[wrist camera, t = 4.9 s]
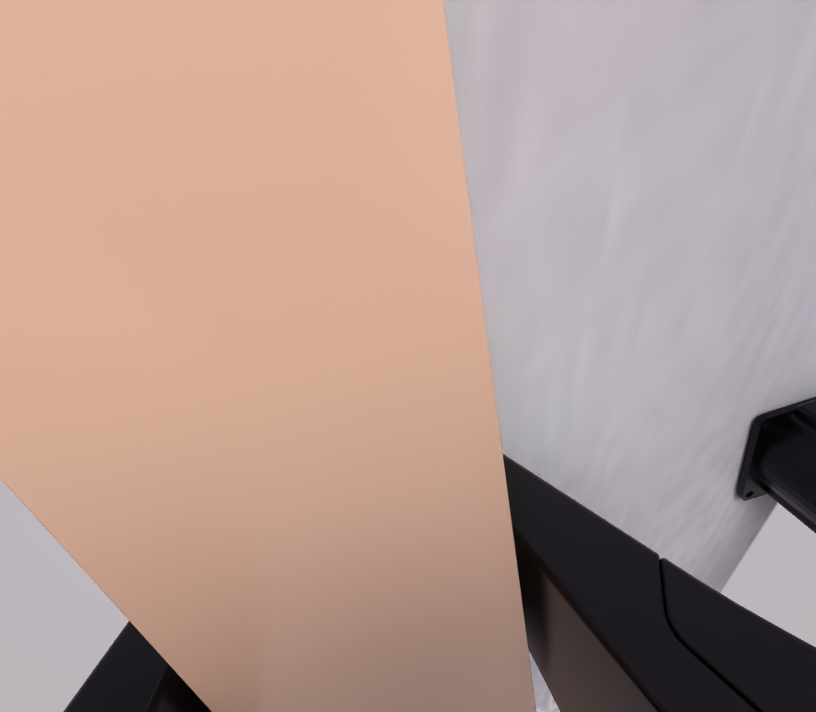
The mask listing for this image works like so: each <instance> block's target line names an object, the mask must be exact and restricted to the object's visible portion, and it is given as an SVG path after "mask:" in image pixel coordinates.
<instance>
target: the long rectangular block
mask: <svg viewBox="0 0 816 712" xmlns="http://www.w3.org/2000/svg"><path fill="white" fill-rule="evenodd" d="M0 478H1V480H2V481H3V482H4V483H5V484H6V485H7V486H8V487H9V488H10V489H11V491H12V492H14V494H15V495H16V496H17V497H18V498H19V499H20V500H21V501H22V503H23V504H24V505H25V506H26V507H27V508H28V509H29V510H30V511H31V513H32V514H33V515H34V516H35V517H36V518H37V519H38V520H39V521H40V523H42V525H43V526H44V527H45V528H46V529H47V530H48V531H49V532H50V534H51V535H52V536H53V537H54V538H55V539H56V540H57V541H58V542H59V543H60V545H61V546H62V547H63V548H64V549H65V550H66V551H67V552H68V553H69V554H70V556H71V557H72V558H73V559H74V560H75V561H76V562H77V563H78V564H79V566H80V567H81V568H82V569H83V570H84V571H85V572H86V573H87V574H88V576H89V577H90V578H91V579H92V580H93V581H94V582H95V583H96V584H97V585H98V586H99V588H100V589H101V590H102V591H103V592H104V593H105V594H106V595H107V596H108V598H109V599H110V600H111V601H112V602H113V603H114V604H115V605H116V606H117V607H118V608H119V610H120V611H121V612H122V613H123V614H124V615H125V616H126V617H127V619H128V620H129V621H130V622H131V623H132V624H133V625H134V626H135V627H136V628H137V630H138V631H139V632H140V633H141V634H142V635H143V636H144V637H145V638H146V640H147V641H148V642H149V643H150V644H151V645H152V646H153V647H154V648H155V649H156V651H157V652H158V653H159V654H160V655H161V656H162V657H163V658H164V659H165V660H166V662H167V663H168V664H169V665H170V666H171V667H172V668H173V669H174V670H175V672H176V673H177V674H178V675H179V676H180V677H181V678H182V679H183V680H184V681H185V683H186V684H187V685H188V686H189V687H190V688H191V689H192V690H193V691H194V693H195V694H196V695H197V696H198V697H199V698H200V699H201V700H202V701H203V702H204V704H205V705H206V706H207V707H208V708H209V709H210V710H211V711H212V712H536V705H535V697H534V689H533V682H532V674H531V667H530V659H529V651H528V644H527V636H526V629H525V621H524V613H523V606H522V598H521V590H520V583H519V575H518V568H517V560H516V552H515V545H514V537H513V530H512V522H511V514H510V507H509V499H508V491H507V484H506V476H505V469H504V461H503V453H502V446H501V438H500V430H499V423H498V415H497V408H496V400H495V392H494V385H493V377H492V370H491V362H490V354H489V347H488V339H487V331H486V324H485V316H484V309H483V301H482V293H481V286H480V278H479V270H478V263H477V255H476V248H475V240H474V232H473V225H472V217H471V210H470V202H469V194H468V187H467V179H466V171H465V164H464V156H463V149H462V141H461V133H460V126H459V118H458V111H457V103H456V95H455V88H454V80H453V72H452V65H451V57H450V50H449V42H448V34H447V27H446V19H445V11H444V4H443V0H0Z"/></svg>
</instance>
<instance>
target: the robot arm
mask: <svg viewBox="0 0 816 712" xmlns="http://www.w3.org/2000/svg"><path fill="white" fill-rule="evenodd" d="M503 461H504V469H505V476H506V484H507V491H508V499H509V507H510V514H511V522H512V530H513V537H514V545H515V552H516V560H517V568H518V575H519V583H520V590H521V598H522V606H523V613H524V621H525V629H526V636H527V644H528V649H529V651H530V653H531V655H532V656H533V658H534V660H535V662H536V664H537V666H538V668H539V670H540V672H541V674H542V676H543V678H544V680H545V682H546V684H547V686H548V688H549V690H550V692H551V694H552V696H553V698H554V700H555V702H556V704H557V705H558V707H559V709H560V711H561V712H816V647H814V646H812V645H810V644H808V643H806V642H804V641H803V640H801V639H799V638H797V637H795V636H794V635H792V634H790V633H788V632H787V631H784V630H783V629H781V628H779V627H778V626H776V625H774V624H772V623H771V622H769V621H767V620H765V619H763V618H762V617H760V616H758V615H756V614H755V613H753V612H751V611H749V610H747V609H745V608H744V607H742V606H740V605H738V604H737V603H735V602H734V601H732V600H730V599H729V598H727V597H725V596H724V595H722V594H721V593H719V592H717V591H716V590H714V589H713V588H711V587H709V586H708V585H706V584H704V583H703V582H701V581H700V580H698V579H696V578H695V577H693V576H692V575H690V574H688V573H687V572H685V571H684V570H682V569H681V568H679V567H678V566H676V565H674V564H673V563H671V562H670V561H668V560H667V559H665V558H661V559H660V560H659V555H658V554H657V553H656V552H654V551H652V550H651V549H649V548H648V547H646V546H645V545H643V544H642V543H640V542H639V541H637V540H635V539H634V538H632V537H631V536H629V535H628V534H626V533H625V532H623V531H622V530H620V529H618V528H617V527H615V526H614V525H612V524H611V523H609V522H608V521H606V520H605V519H603V518H601V517H600V516H598V515H597V514H595V513H594V512H592V511H591V510H589V509H588V508H586V507H584V506H583V505H581V504H580V503H578V502H577V501H575V500H574V499H572V498H571V497H569V496H567V495H566V494H564V493H563V492H561V491H560V490H558V489H557V488H555V487H553V486H552V485H550V484H549V483H547V482H546V481H544V480H543V479H541V478H540V477H538V476H536V475H535V474H533V473H532V472H530V471H529V470H527V469H526V468H524V467H523V466H521V465H519V464H518V463H516V462H515V461H513V460H512V459H510V458H509V457H507V456H506V455H504V454H503ZM765 494H768V495H770V496H771V497H772V498H773V499H775V500H776V501H777V502H778V503H779V504H781V505H782V506H783V507H784V508H786V509H787V510H788V511H789V512H790V513H792V514H793V515H794V516H796V517H797V518H798V519H799V520H800V521H801V522H803V523H804V524H805V525H806V526H808V527H809V528H810V529H811V530H812V531H814V532H815V533H816V397H814V398H811V399H808V400H805V401H802V402H799V403H796V404H792V405H789V406H786V407H783V408H780V409H777V410H774V411H770V412H767V413H764V414H762V415H760V416H759V417H757V419H756V420H755V422H754V425H753V429H752V433H751V437H750V441H749V445H748V449H747V453H746V457H745V461H744V466H743V470H742V474H741V478H740V482H739V486H738V490H737V495H738V496H739V497H741V498H742V499H743V500H750V499H753V498H756V497H759V496H762V495H765ZM64 712H212V711H211V710H210V709H209V708H208V707H207V706H206V705H205V704H204V702H203V701H202V700H201V699H200V698H199V697H198V696H197V695H196V694H195V693H194V691H193V690H192V689H191V688H190V687H189V686H188V685H187V684H186V683H185V681H184V680H183V679H182V678H181V677H180V676H179V675H178V674H177V673H176V672H175V670H174V669H173V668H172V667H171V666H170V665H169V664H168V663H167V662H166V660H165V659H164V658H163V657H162V656H161V655H160V654H159V653H158V652H157V651H156V649H155V648H154V647H153V646H152V645H151V644H150V643H149V642H148V641H147V640H146V638H145V637H144V636H143V635H142V634H141V633H140V632H139V631H138V630H137V628H136V627H135V626H134V625H133V624H132V623H131V622H130V621H129V622H128V623H127V625H126V626H125V627H124V629H123V630H122V632H121V633H120V634H119V636H118V637H117V639H116V640H115V641H114V643H113V644H112V645H111V647H110V648H109V650H108V651H107V652H106V654H105V655H104V656H103V658H102V659H101V661H100V662H99V663H98V665H97V666H96V667H95V669H94V670H93V671H92V673H91V675H90V676H89V677H88V678H87V680H86V681H85V683H84V684H83V685H82V687H81V688H80V689H79V691H78V692H77V694H76V695H75V696H74V698H73V699H72V700H71V702H70V703H69V705H68V706H67V707H66V709H65V710H64Z"/></svg>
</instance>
